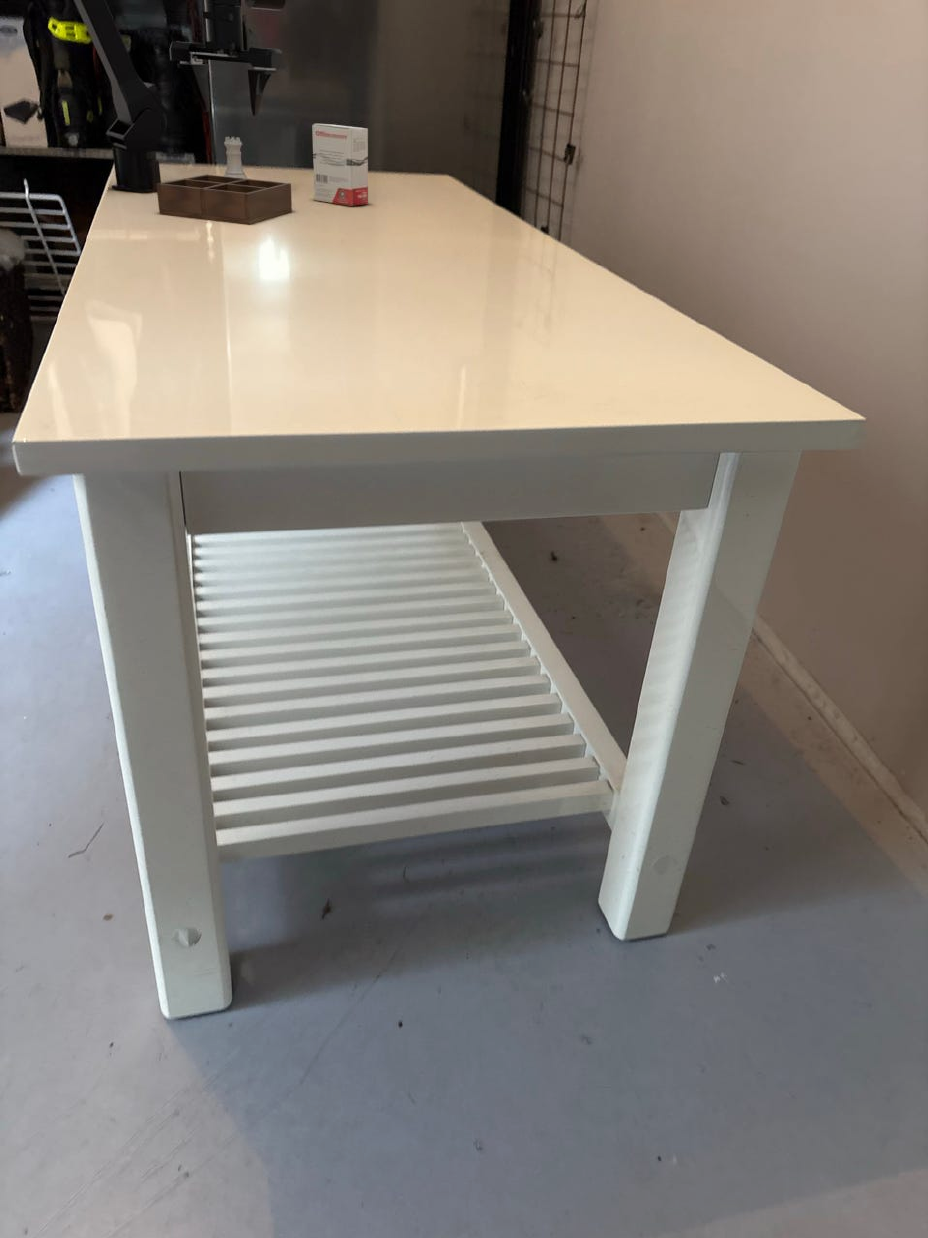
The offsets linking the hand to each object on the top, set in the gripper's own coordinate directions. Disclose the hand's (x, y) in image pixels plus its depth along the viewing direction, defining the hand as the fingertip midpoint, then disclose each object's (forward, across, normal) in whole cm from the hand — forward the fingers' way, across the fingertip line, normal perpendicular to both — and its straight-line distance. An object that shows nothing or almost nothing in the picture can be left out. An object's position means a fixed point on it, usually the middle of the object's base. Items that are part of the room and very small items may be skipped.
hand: (231, 113), depth 157 cm
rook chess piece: (+12, 0, 0) cm, 12 cm away
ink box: (+12, -22, +4) cm, 25 cm away
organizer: (+12, -12, +26) cm, 31 cm away
